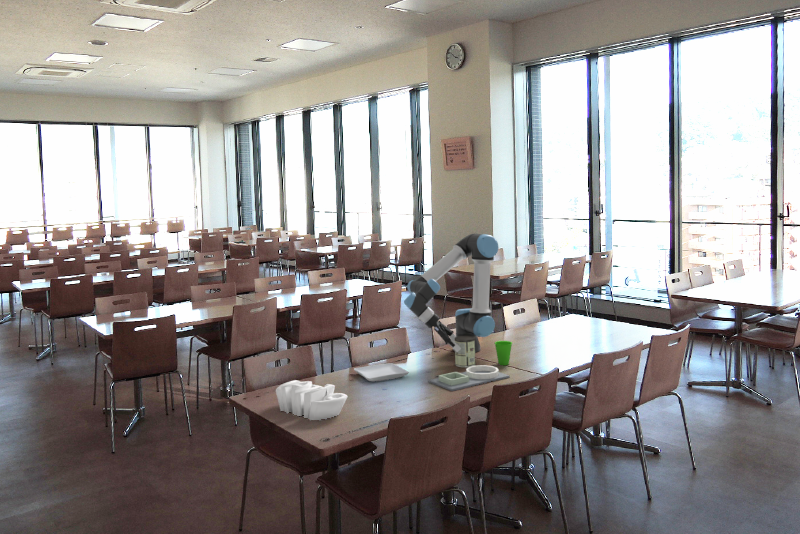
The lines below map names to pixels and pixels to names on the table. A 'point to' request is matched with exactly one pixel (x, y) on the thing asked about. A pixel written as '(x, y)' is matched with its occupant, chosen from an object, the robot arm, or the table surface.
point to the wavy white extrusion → (310, 400)
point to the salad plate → (381, 372)
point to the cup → (503, 351)
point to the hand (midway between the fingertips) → (459, 347)
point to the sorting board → (469, 377)
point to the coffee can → (465, 351)
